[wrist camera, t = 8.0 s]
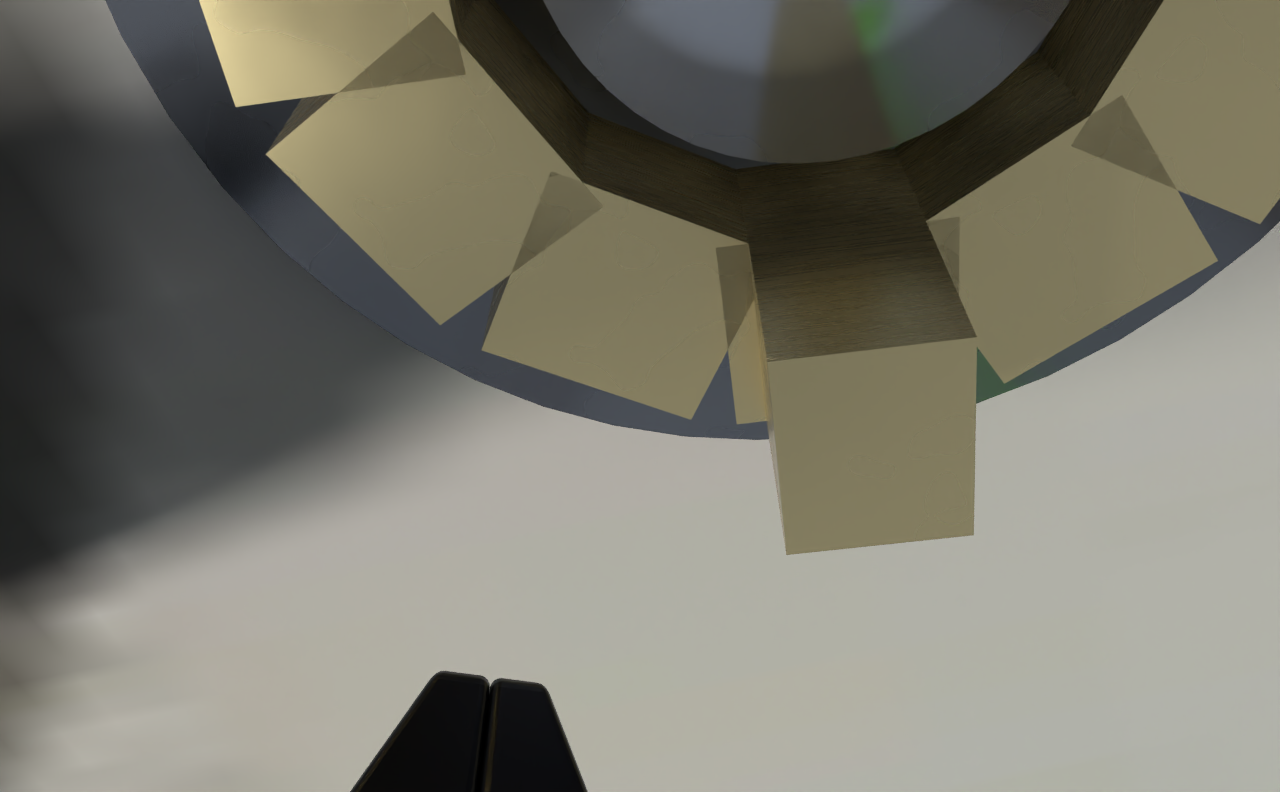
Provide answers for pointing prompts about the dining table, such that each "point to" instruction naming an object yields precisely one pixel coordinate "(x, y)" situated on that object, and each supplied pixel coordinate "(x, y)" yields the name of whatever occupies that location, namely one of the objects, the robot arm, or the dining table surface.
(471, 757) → the robot arm
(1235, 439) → the dining table surface
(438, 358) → the grey round tray
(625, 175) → the tan segmented ring
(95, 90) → the dining table surface
